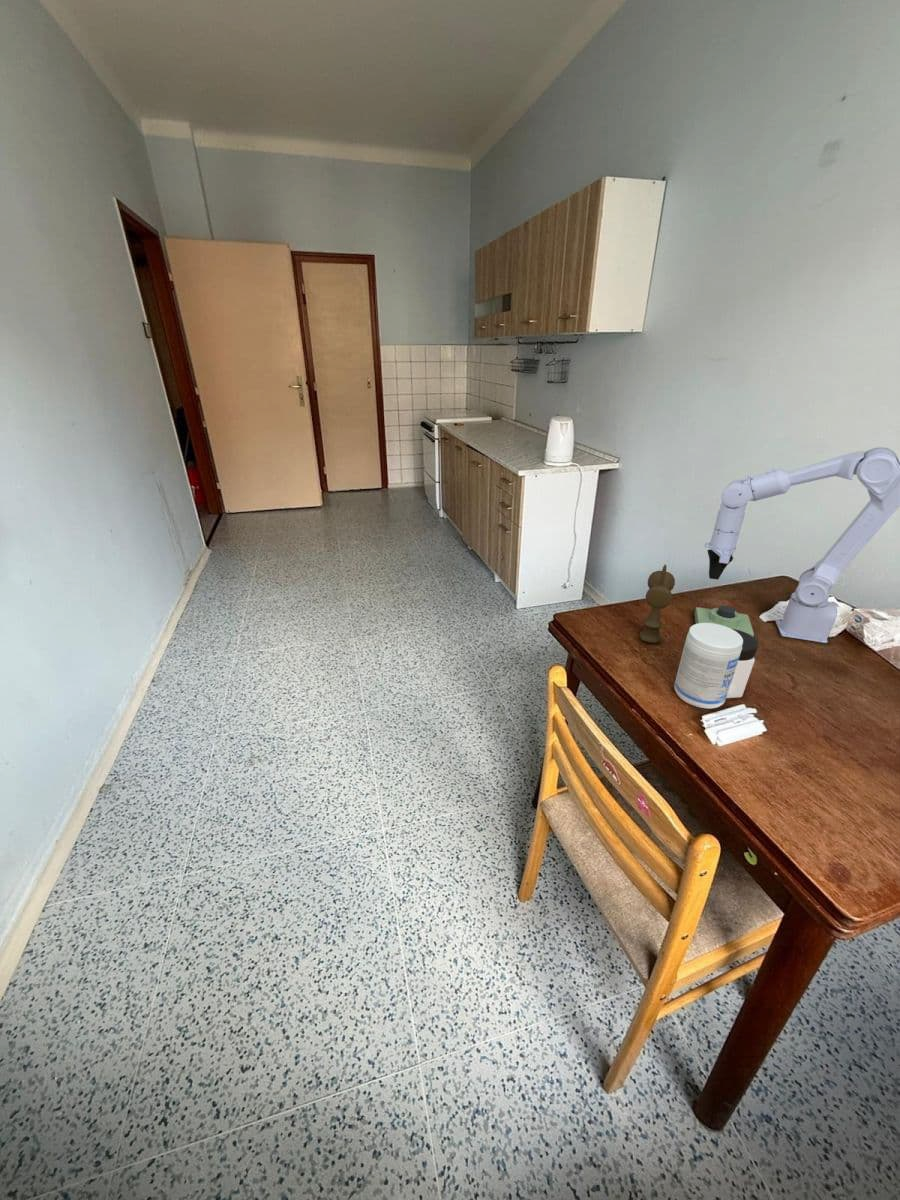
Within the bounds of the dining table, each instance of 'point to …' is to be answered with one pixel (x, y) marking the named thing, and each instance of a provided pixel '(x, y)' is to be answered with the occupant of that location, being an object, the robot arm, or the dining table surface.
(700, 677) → the supplement tub
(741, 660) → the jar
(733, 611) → the push button
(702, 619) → the green button box
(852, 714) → the dining table surface
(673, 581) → the kendama
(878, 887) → the dining table surface
